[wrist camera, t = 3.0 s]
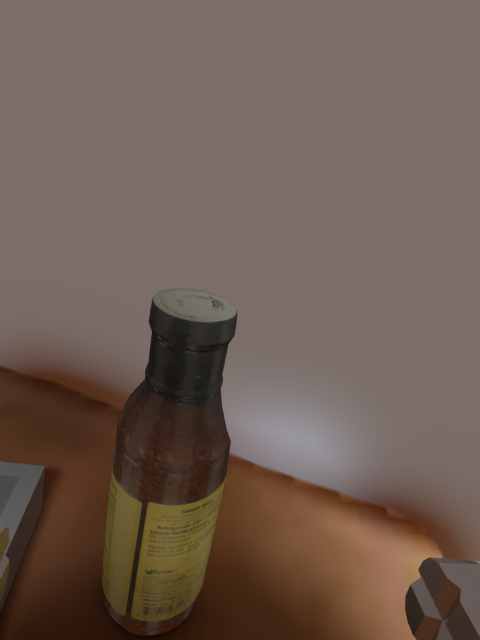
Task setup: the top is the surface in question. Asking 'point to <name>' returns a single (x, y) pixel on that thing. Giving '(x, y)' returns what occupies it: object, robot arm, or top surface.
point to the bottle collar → (19, 510)
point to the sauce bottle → (169, 466)
